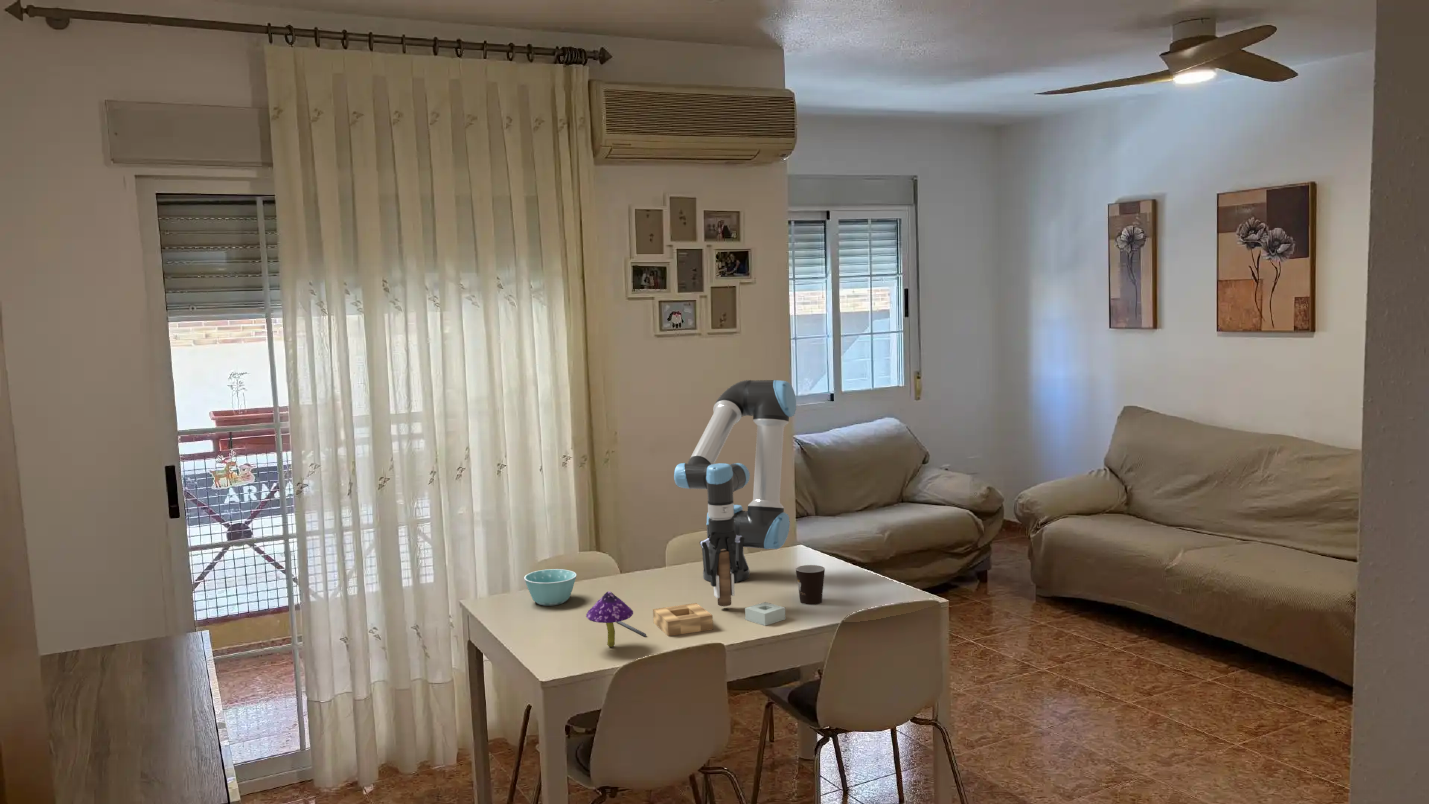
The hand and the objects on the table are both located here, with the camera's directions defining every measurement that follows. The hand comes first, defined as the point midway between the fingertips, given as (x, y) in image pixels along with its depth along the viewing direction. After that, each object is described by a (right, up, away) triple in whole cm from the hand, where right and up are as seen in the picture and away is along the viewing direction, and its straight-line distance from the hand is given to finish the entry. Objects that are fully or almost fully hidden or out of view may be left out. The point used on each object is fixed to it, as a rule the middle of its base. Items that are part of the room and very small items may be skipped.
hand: (724, 595), depth 313 cm
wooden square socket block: (-12, -6, -14) cm, 19 cm away
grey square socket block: (+11, -5, -11) cm, 16 cm away
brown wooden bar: (0, -3, 0) cm, 3 cm away
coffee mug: (+26, -3, +7) cm, 27 cm away
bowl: (-53, -5, +14) cm, 55 cm away
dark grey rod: (-26, -7, -15) cm, 31 cm away
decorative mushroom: (-30, -8, -30) cm, 43 cm away
